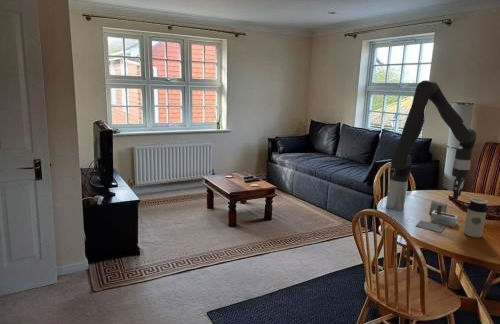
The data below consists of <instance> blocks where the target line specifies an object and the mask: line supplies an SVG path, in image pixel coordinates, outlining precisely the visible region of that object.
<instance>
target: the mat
mask: <svg viewBox="0 0 500 324" xmlns="http://www.w3.org/2000/svg"><path fill="white" fill-rule="evenodd" d="M415 227H416V228H421V229H424V230H428V231H432V232H437V233H440V234H441V233H442V232H443V230H444V229H445V228H446V225H443V224H438V223H435V222H429V221H426V220H422V219H421V220H419V222H417V224H415Z"/></svg>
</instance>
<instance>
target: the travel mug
mask: <svg viewBox="0 0 500 324" xmlns="http://www.w3.org/2000/svg"><path fill="white" fill-rule="evenodd" d="M488 203H489V202H488V201H487V200H486V199H483V198H477V197H472V198H469V204H468V205H467V210H466V217H465V222H464V228H463V234H465V235H466V236H468V237H472V238H481V237H482V236H483V232H484V227H485V222H486V217H487V212H488V207H487V205H488Z"/></svg>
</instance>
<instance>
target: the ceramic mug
mask: <svg viewBox="0 0 500 324" xmlns="http://www.w3.org/2000/svg"><path fill="white" fill-rule="evenodd" d="M438 205H442V209H441V212H444V213H447V209H448V208H447V207H448V205H447V203H445V202H441V201H437V200H434V199H432V200H431V202H430V207H429V212H428V213H429V214H431V213H432V212H433V211H434V210H435V211H437V208H438Z"/></svg>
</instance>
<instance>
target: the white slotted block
mask: <svg viewBox="0 0 500 324" xmlns="http://www.w3.org/2000/svg"><path fill="white" fill-rule="evenodd" d="M458 220H459V215H457V214H451V213H448V212H446V213H444V212H441V214H437V211H435V210H434V211H433V212H432V213H430V219H429V221H431V222H432V223H436V224H438V223H439V224H441V225H445V226H451V227H453V228H454V227H456V226H457V224H458Z"/></svg>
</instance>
